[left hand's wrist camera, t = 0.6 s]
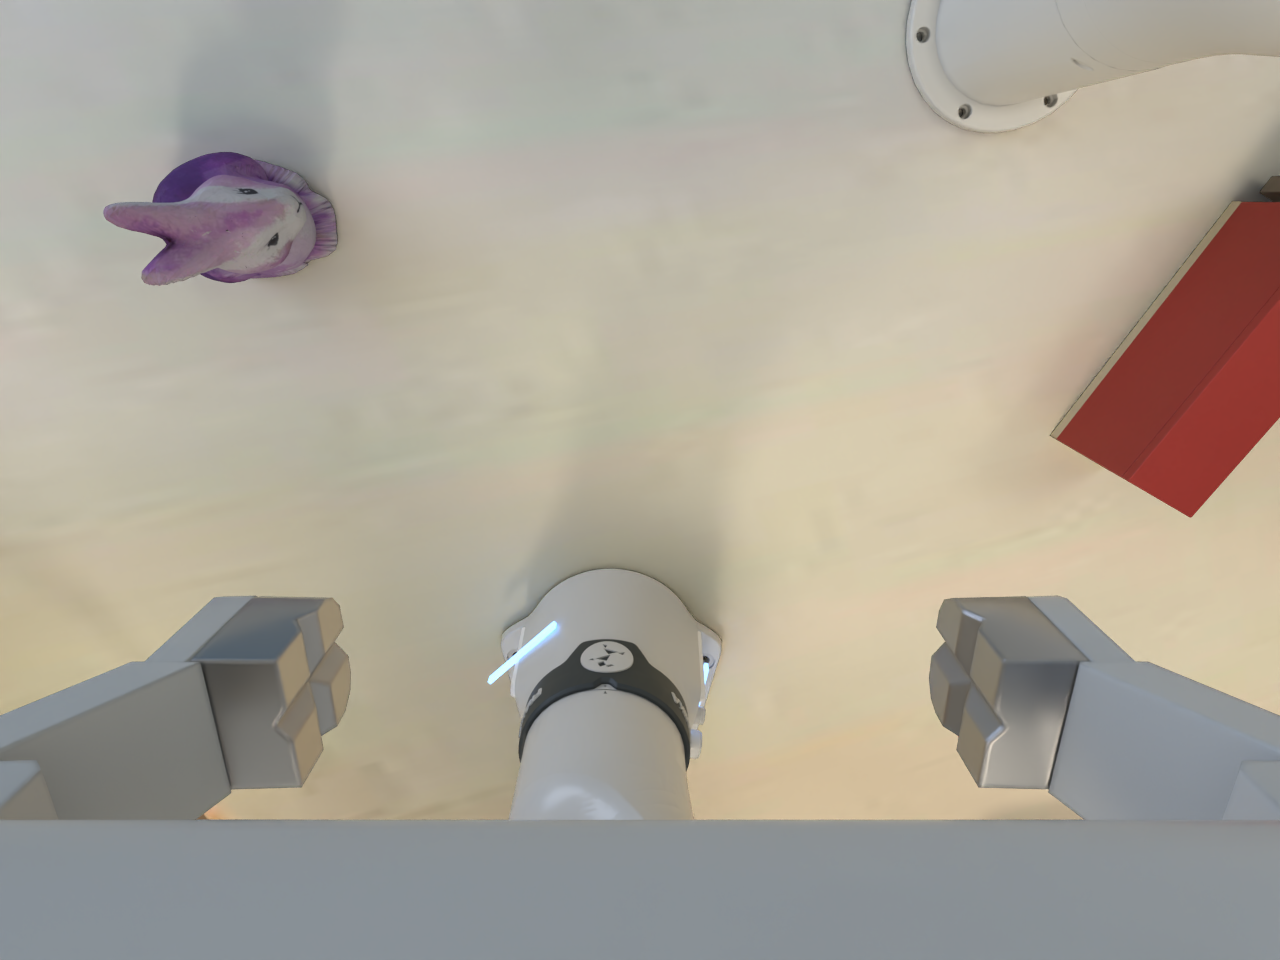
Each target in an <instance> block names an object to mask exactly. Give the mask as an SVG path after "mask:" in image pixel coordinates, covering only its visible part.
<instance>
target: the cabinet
mask: <svg viewBox="0 0 1280 960" xmlns="http://www.w3.org/2000/svg"><path fill="white" fill-rule="evenodd" d="M1279 418H1280V202H1242V201H1232V202H1231V203H1230V205H1229V206H1228V207H1227V209H1226V210H1225V211H1224V212H1223V214H1222V215H1221V216H1220V218H1219V219H1218V220H1217V221H1216V223H1215V224H1214V225H1213V227H1212V228H1211V229H1210V230H1209V232H1208V233H1207V234H1206V236H1205V237H1204V238H1203V239H1202V241H1201V242H1200V243H1199V245H1198V246H1197V247H1196V248H1195V250H1194V251H1193V252H1192V254H1191V255H1190V256H1189V257H1188V259H1187V260H1186V261H1185V263H1184V264H1183V265H1182V266H1181V268H1180V269H1179V270H1178V272H1177V273H1176V274H1175V275H1174V277H1173V278H1172V279H1171V281H1170V282H1169V283H1168V284H1167V286H1166V287H1165V288H1164V290H1163V291H1162V292H1161V293H1160V295H1159V296H1158V297H1157V299H1156V300H1155V301H1154V302H1153V304H1152V305H1151V306H1150V308H1149V309H1148V310H1147V311H1146V313H1145V314H1144V315H1143V317H1142V318H1141V319H1140V320H1139V322H1138V323H1137V324H1136V326H1135V327H1134V328H1133V329H1132V331H1131V332H1130V333H1129V335H1128V336H1127V337H1126V339H1125V340H1124V341H1123V342H1122V344H1121V345H1120V346H1119V348H1118V349H1117V350H1116V351H1115V353H1114V354H1113V355H1112V357H1111V358H1110V359H1109V360H1108V362H1107V363H1106V364H1105V366H1104V367H1103V368H1102V369H1101V371H1100V372H1099V373H1098V375H1097V376H1096V377H1095V378H1094V380H1093V381H1092V382H1091V384H1090V385H1089V386H1088V387H1087V389H1086V390H1085V391H1084V393H1083V394H1082V395H1081V396H1080V398H1079V399H1078V400H1077V402H1076V403H1075V404H1074V405H1073V407H1072V408H1071V409H1070V411H1069V412H1068V413H1067V414H1066V416H1065V417H1064V418H1063V420H1062V421H1061V422H1060V423H1059V425H1058V426H1057V427H1056V429H1055V430H1054V431H1053V432H1052V434H1051V435H1050V436H1051V437H1053V438H1055V439H1056V440H1058V441H1060V442H1062V443H1063V444H1065V445H1067V446H1068V447H1070V448H1072V449H1073V450H1075V451H1077V452H1079V453H1080V454H1082V455H1084V456H1085V457H1087V458H1089V459H1090V460H1092V461H1094V462H1095V463H1097V464H1099V465H1101V466H1102V467H1104V468H1106V469H1107V470H1109V471H1111V472H1113V473H1115V474H1116V475H1118V476H1120V477H1121V478H1123V479H1125V480H1127V481H1128V482H1130V483H1132V484H1133V485H1135V486H1137V487H1139V488H1140V489H1142V490H1144V491H1145V492H1147V493H1149V494H1151V495H1152V496H1154V497H1156V498H1157V499H1159V500H1161V501H1163V502H1164V503H1166V504H1168V505H1169V506H1171V507H1173V508H1175V509H1176V510H1178V511H1180V512H1181V513H1183V514H1185V515H1187V516H1188V517H1192V516H1193V515H1194V514H1195V513H1196V512H1197V510H1198V509H1199V508H1200V507H1201V506H1202V505H1203V504H1204V503H1205V501H1206V500H1207V499H1208V498H1209V497H1210V496H1211V495H1212V493H1213V492H1214V491H1215V490H1216V489H1217V488H1218V487H1219V486H1220V484H1221V483H1222V482H1223V481H1224V480H1225V479H1226V478H1227V476H1228V475H1229V474H1230V473H1231V472H1232V471H1233V470H1234V469H1235V467H1236V466H1237V465H1238V464H1239V463H1240V462H1241V461H1242V459H1243V458H1244V457H1245V456H1246V455H1247V454H1248V453H1249V452H1250V450H1251V449H1252V448H1253V447H1254V446H1255V445H1256V444H1257V443H1258V441H1259V440H1260V439H1261V438H1262V437H1263V436H1264V435H1265V433H1266V432H1267V431H1268V430H1269V429H1270V428H1271V427H1272V426H1273V424H1274V423H1275V422H1276V421H1277V420H1278V419H1279Z"/></svg>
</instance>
